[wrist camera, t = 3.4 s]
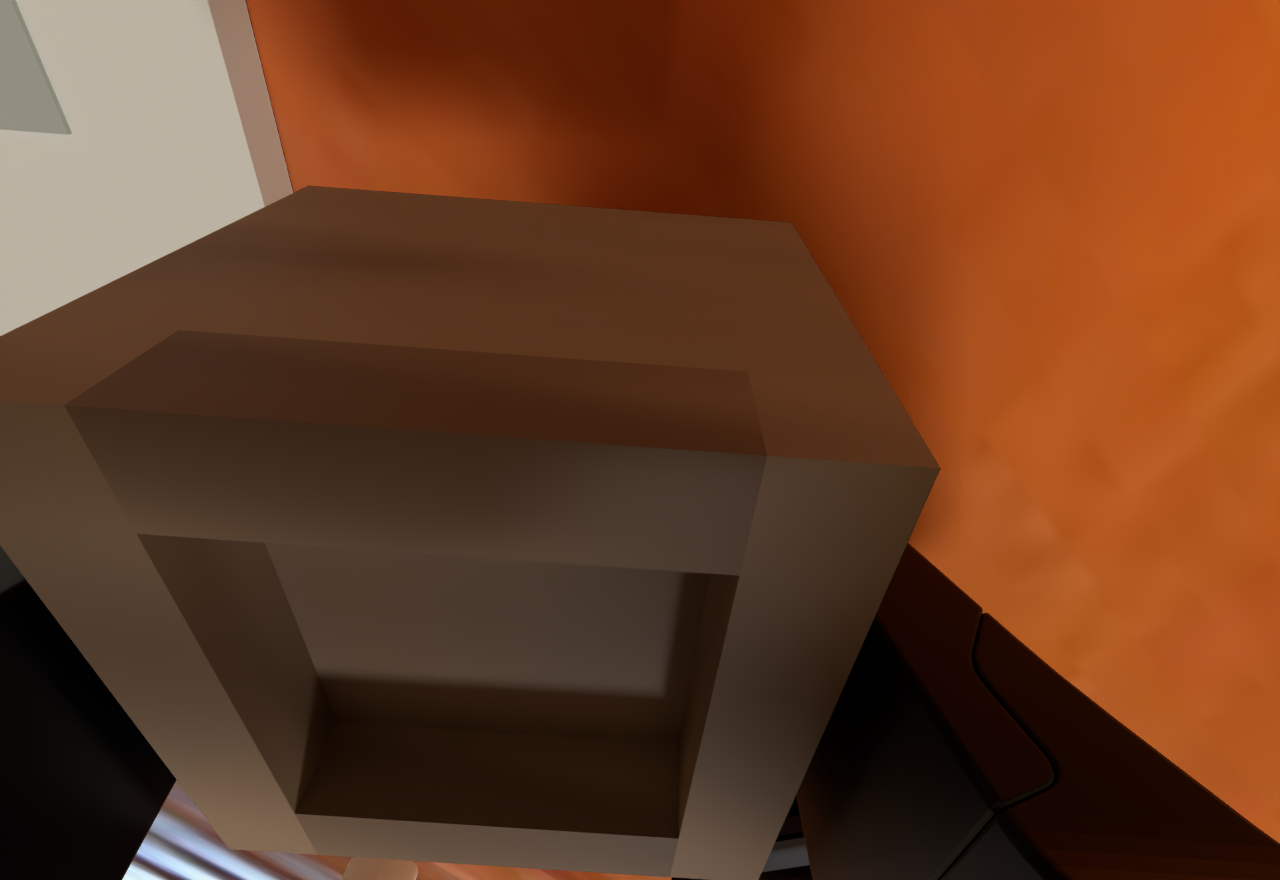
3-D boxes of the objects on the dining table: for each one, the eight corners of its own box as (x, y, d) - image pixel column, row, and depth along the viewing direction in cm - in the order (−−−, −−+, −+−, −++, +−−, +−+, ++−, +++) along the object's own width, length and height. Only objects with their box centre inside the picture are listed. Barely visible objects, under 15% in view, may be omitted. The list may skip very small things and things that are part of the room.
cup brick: (722, 560, 11) (757, 882, 7) (391, 537, 11) (229, 849, 7) (791, 221, 8) (941, 469, 4) (307, 184, 8) (-117, 393, 3)
